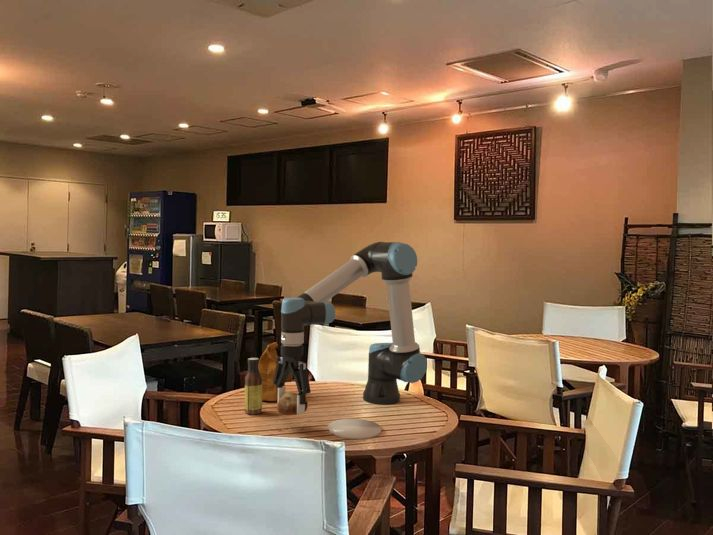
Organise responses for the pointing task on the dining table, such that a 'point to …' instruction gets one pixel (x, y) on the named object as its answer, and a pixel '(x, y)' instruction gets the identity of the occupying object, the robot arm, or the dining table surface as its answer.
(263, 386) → the coffee package
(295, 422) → the dining table surface
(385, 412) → the dining table surface
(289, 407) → the bread roll
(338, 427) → the plate
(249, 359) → the sauce bottle
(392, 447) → the dining table surface
